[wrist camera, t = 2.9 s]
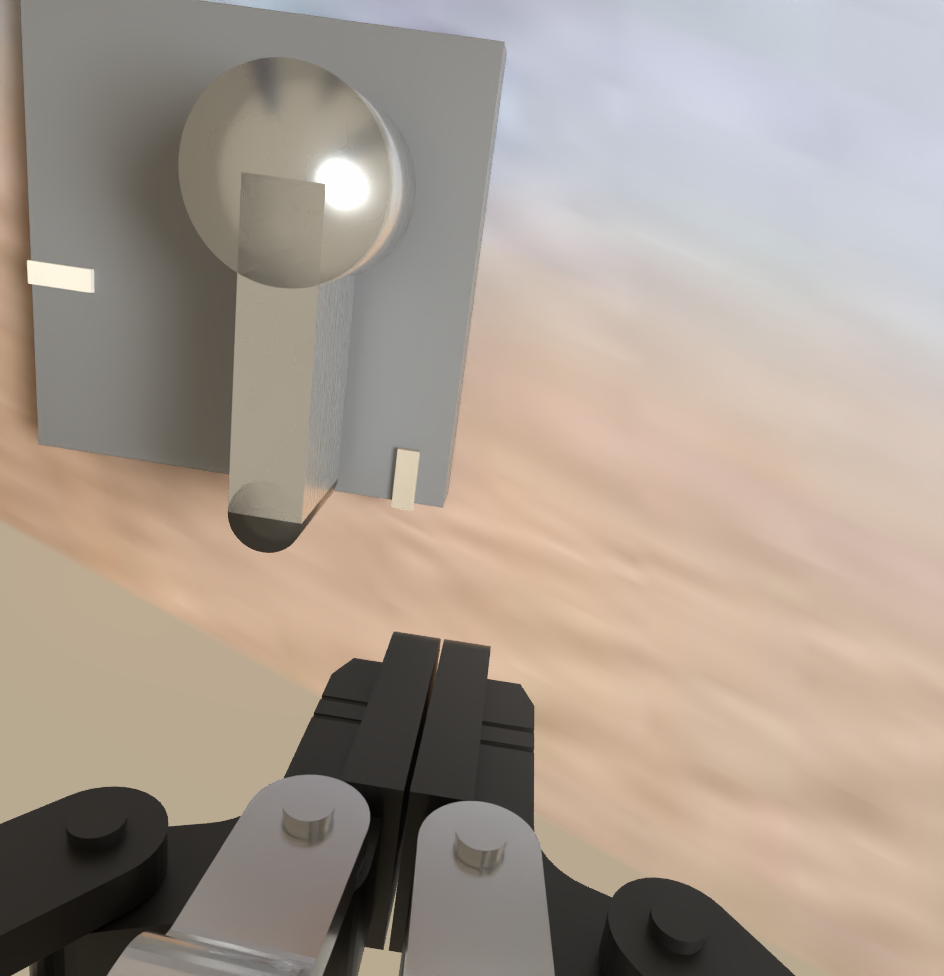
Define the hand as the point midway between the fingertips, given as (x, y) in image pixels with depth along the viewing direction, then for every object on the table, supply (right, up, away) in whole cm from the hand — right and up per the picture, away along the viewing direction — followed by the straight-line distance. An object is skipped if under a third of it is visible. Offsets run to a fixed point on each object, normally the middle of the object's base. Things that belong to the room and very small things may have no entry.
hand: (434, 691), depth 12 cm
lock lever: (-4, +8, +11) cm, 14 cm away
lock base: (-6, +10, +13) cm, 18 cm away
